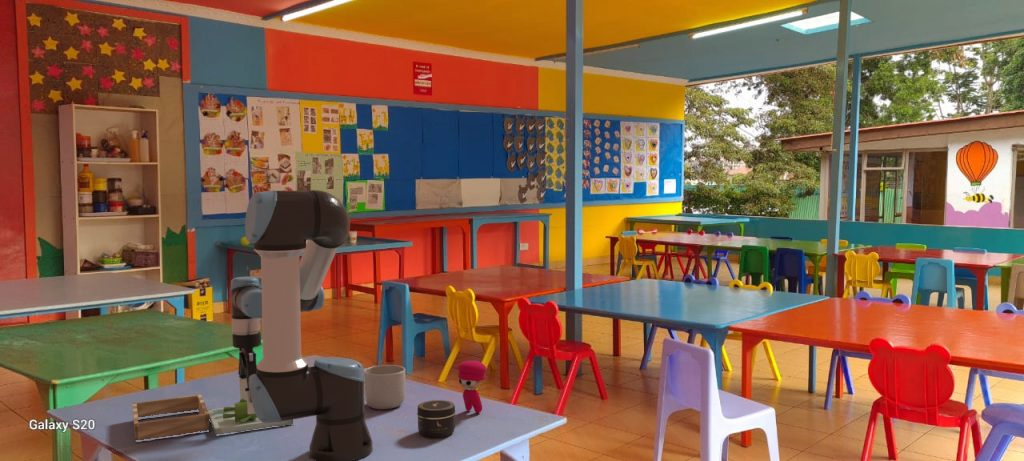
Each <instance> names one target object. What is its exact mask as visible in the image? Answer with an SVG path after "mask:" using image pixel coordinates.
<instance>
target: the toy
mask: <svg viewBox="0 0 1024 461" xmlns="http://www.w3.org/2000/svg"><path fill="white" fill-rule="evenodd" d="M457 370H458V375H457V377H458V378H459V379H458V383H459V384H460V385H461V387H462V388H463V389H465V390H463V392H462V398H463V404H464V407H465V409H466V410H465V411H468V412H470V411H471V410H472V409H473V410H474V413H476V414H480V413H481V412H482V411H483V403H482V400H481V396H480V394H479V391H478V390H477V389H480V388H479V387H480V386H481V384H482V381H483V380H485V379H486V373H487V372H488V371H487V370H488V369H487V366H486V365H485V364H484V363H482V362H480V361H479V360H465V361H463V362H461V363H459V365H458V366H457Z"/></svg>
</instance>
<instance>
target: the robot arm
mask: <svg viewBox="0 0 1024 461" xmlns="http://www.w3.org/2000/svg"><path fill="white" fill-rule="evenodd" d="M350 228H351V220H350V216H349V213H348V211H347V209H346V207H345V205H344V204H343V203H342V202H341V201H340V199H338V197H336V196H335V195H333V194H332V193H329V192H327V191H324V190H319V189H317V190H316V189H312V190H275V189H273V190H265V191H257V192H255V193H254V194H252V195H251V197H250V199H249V202H248V204H247V207H246V212H245V220H244V231H245V234H244V235H245V238H246V241H247V242H248V243H250V244H253V252H256V253H257V254H258V255H259V257H260V268H261V270H260V274H261V275H260V276H261V280H260V281H261V286H260V281H259V278H258V277H257V276H239V277H238V276H237V277H234V278H232V279H231V281H230V290H229V291H230V302H231V303H230V304H231V331H232V333H233V334H231V335H232V336H231V337H232V347H233V348H234V349H238V350H239V351H238V371H237V374H238V377H239V398H240V400H241V399H242V398H244V399H245V400H247V408H248V414H256V416H257V418H258V419H259V420H260V421H261V422H263V423H274V422H282V421H287V420H293V421H294V420H297V419H303V418H310V417H314V416H315V418H316V419H315V420H316V421H315V422H316V423H315V427H314V431H313V433H312V437H311V441H310V443H309V458H311V459H312V460H314V461H357V460H360V459H363V458H365V457H368V456H369V455H370V454H372V452H373V450H374V449H373V448H374V447H373V439H372V435H371V433H370V430H369V428H368V425H367V422H366V419H365V415H366V414H365V390H364V381H365V380H364V374H363V371H364V367H363V365H362V363H361V362H359V361H358V360H355V359H352V358H346V357H339V356H338V357H336V356H335V357H334V356H326V357H320V358H316V359H315V360H314V362H313V366H309V363H308V360H307V359H305V358H304V357H303V355H302V330H301V329H302V327H301V324H302V323H301V322H302V321H301V318H302V317H301V316H302V315H301V313H302V312H305V313H306V312H307V313H308V312H311V311H313V312H314V311H319V310H320V309H322V308H323V306H324V304H325V292H324V291H325V290H324V287H323V286H322V285H323V283H324V281H325V278H326V277H327V274H328V272H329V270H330V267H331V265H332V262H333V261H334V258H335V256H336V253H337V251H338V249H339V248H341V247H342V246H343V245H344V244H345V243H346V241H347V238H348V237H349V232H350ZM300 256H301V257H300ZM300 258H301V259H300ZM260 323H262V325H261V324H260ZM261 326H262V327H261ZM261 328H262V333H261V332H260V330H261ZM261 344H262V359H261V360H260V361H258V363H257V354H256V352H255V351H254V349H255V348H256V347H260V346H261ZM240 400H239V401H240Z"/></svg>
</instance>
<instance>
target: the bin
mask: <svg viewBox="0 0 1024 461" xmlns="http://www.w3.org/2000/svg"><path fill="white" fill-rule="evenodd" d="M197 409H198V410H199V413H200V414H199V413H197V414H192V415H191V414H190V415H185V416H183V415H182V416H179V417H178V416H175V417H172V418H171V417H168V418H162V419H157V420H155V419H154V420H150V421H142V422H139V421H138V417H145V416H151V415H152V416H153V415H159V414H167V413H177V412H184V411H191V410H197ZM208 410H209V409H208V407H207V404H205V401H204V398H203V396H202V394H201V393H200V394H192V395H185V396H178V397H170V398H161V399H154V400H153V399H152V400H146V401H139V402H138V401H137V402H132V421H134V422H133V433H134V434H135V436H134V441H135V440H144V439H151V438H159V437H166V436H173V435H181V434H186V433H193V432H198V431H200V432H201V431H207V430H211V428H210V427H211V424H210V421H209V412H208ZM134 434H133V435H134Z"/></svg>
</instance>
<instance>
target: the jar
mask: <svg viewBox="0 0 1024 461" xmlns="http://www.w3.org/2000/svg"><path fill="white" fill-rule="evenodd" d="M416 412H417V413H416V415H417V429H418V432H419V434H420V436H422V437H423V438H427V439H443V438H448V437H450V436H451V435H453V433H454V432H455V428H456V405H455V403H454V402H451V401H449V400H443V399H438V400H437V399H434V400H427V401H424V402H421V403H419V404H418V405H417V411H416Z"/></svg>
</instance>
